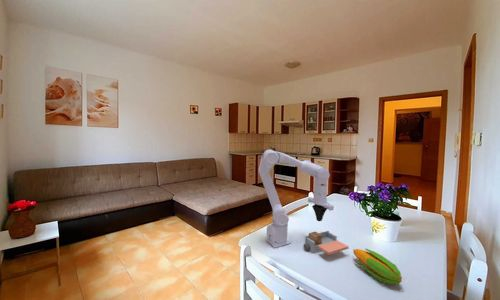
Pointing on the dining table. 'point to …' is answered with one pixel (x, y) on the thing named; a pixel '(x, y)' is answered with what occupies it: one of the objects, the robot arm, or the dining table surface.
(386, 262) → the corn
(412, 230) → the dining table surface
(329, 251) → the thick rectangular slab
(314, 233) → the block
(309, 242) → the grey boxy piece
